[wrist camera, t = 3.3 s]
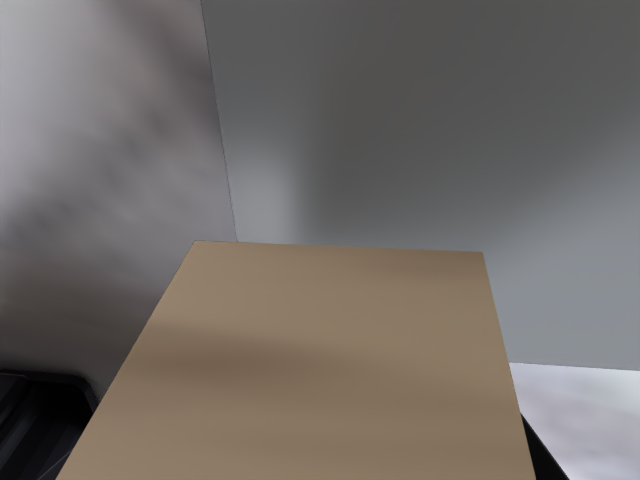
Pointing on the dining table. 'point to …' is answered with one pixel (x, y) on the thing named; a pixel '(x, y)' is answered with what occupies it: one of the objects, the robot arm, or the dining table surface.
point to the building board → (449, 147)
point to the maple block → (313, 372)
